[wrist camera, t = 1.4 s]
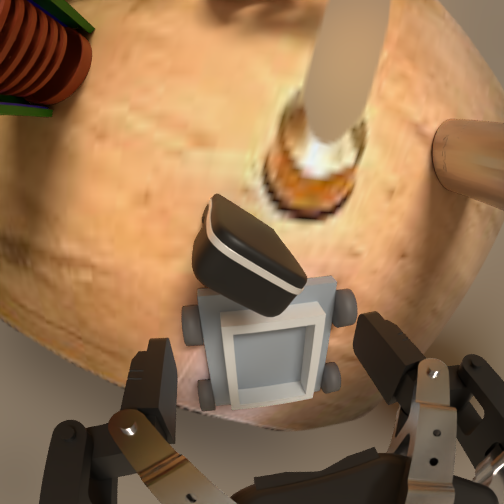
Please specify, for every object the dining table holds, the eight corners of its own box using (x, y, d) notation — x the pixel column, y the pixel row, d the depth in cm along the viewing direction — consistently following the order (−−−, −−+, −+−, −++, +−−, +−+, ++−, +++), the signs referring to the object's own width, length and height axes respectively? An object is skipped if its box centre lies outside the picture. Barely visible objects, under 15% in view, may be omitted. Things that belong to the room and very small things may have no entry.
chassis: (344, 274, 30) (361, 291, 26) (326, 380, 36) (336, 401, 32) (181, 290, 28) (178, 312, 24) (203, 398, 34) (204, 421, 30)
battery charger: (190, 225, 25) (179, 285, 15) (213, 189, 25) (217, 226, 14) (253, 262, 28) (280, 335, 17) (276, 230, 27) (319, 289, 16)
